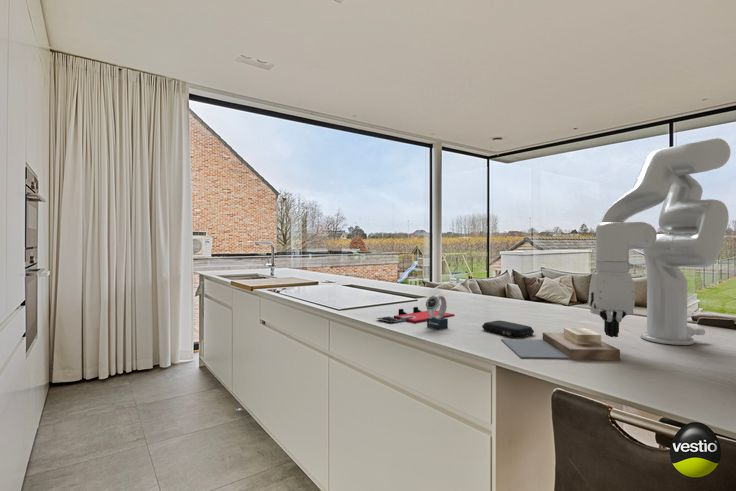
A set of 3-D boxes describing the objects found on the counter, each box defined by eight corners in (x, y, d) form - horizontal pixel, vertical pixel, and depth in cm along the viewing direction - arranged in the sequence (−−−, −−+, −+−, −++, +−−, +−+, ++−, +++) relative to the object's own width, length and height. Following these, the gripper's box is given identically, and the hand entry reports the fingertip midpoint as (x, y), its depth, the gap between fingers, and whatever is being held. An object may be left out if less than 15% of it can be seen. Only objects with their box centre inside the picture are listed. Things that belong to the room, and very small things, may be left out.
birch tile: (585, 337, 110) (585, 328, 110) (600, 344, 102) (601, 334, 102) (563, 336, 110) (563, 327, 110) (577, 344, 102) (577, 334, 102)
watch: (423, 327, 134) (423, 295, 134) (438, 324, 139) (438, 293, 139) (436, 330, 129) (436, 297, 129) (451, 327, 135) (451, 295, 135)
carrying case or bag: (477, 331, 129) (515, 340, 117) (477, 322, 129) (515, 330, 117) (498, 327, 135) (536, 336, 123) (498, 318, 135) (536, 326, 123)
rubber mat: (542, 340, 115) (542, 339, 115) (570, 359, 97) (570, 357, 97) (501, 340, 116) (501, 339, 116) (520, 358, 98) (520, 356, 98)
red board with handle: (372, 320, 148) (399, 327, 136) (372, 312, 148) (400, 319, 136) (426, 312, 167) (454, 318, 155) (426, 305, 167) (454, 310, 155)
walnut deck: (584, 341, 115) (584, 333, 115) (620, 359, 97) (620, 349, 97) (542, 340, 115) (542, 332, 115) (570, 359, 97) (570, 349, 97)
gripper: (632, 267, 108) (631, 333, 109) (576, 267, 109) (576, 332, 109) (650, 269, 101) (649, 339, 101) (590, 268, 102) (590, 338, 102)
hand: (611, 335), depth 105 cm, fingers closed
